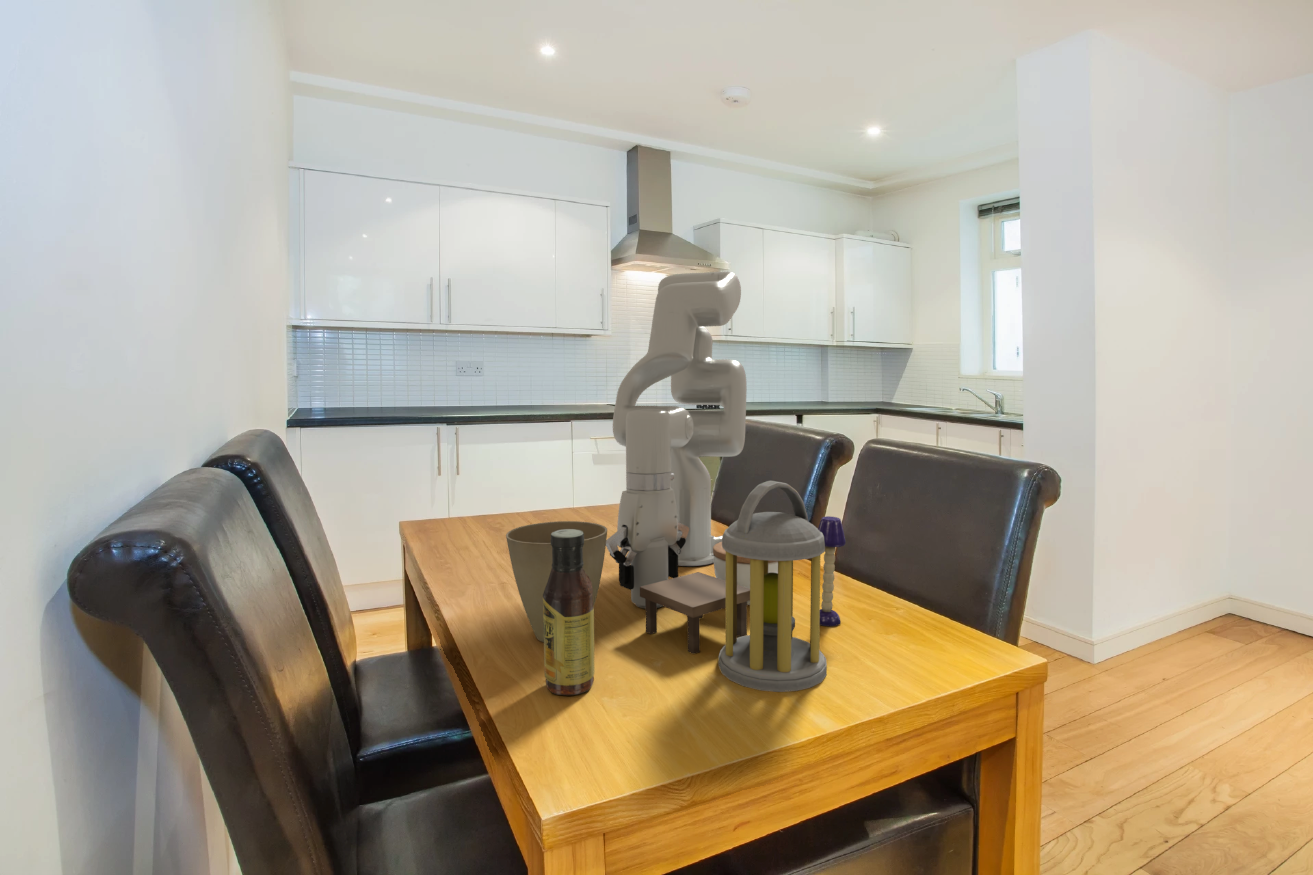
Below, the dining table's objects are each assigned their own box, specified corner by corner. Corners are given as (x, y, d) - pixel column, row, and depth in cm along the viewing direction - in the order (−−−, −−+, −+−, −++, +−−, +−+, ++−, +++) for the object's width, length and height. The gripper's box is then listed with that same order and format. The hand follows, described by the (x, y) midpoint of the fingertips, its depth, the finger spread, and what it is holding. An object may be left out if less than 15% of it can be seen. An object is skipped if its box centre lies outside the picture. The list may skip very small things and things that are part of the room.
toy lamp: (845, 618, 107) (846, 515, 105) (843, 629, 102) (844, 521, 101) (814, 615, 108) (815, 513, 107) (811, 625, 104) (812, 519, 103)
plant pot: (604, 614, 110) (602, 518, 109) (614, 650, 95) (612, 540, 94) (511, 620, 107) (508, 522, 106) (506, 658, 93) (503, 545, 91)
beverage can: (664, 611, 111) (664, 540, 110) (627, 609, 112) (626, 538, 111) (671, 598, 117) (671, 531, 116) (635, 596, 119) (635, 530, 118)
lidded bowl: (793, 592, 120) (794, 531, 119) (775, 615, 109) (775, 548, 108) (726, 583, 126) (726, 525, 125) (702, 604, 114) (702, 541, 113)
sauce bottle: (546, 676, 87) (543, 526, 85) (595, 674, 88) (592, 524, 86) (542, 701, 80) (538, 538, 79) (594, 698, 81) (592, 536, 79)
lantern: (775, 638, 99) (776, 470, 97) (850, 673, 87) (853, 483, 85) (697, 660, 92) (696, 479, 89) (768, 702, 80) (769, 494, 77)
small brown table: (698, 613, 110) (698, 571, 109) (752, 635, 100) (752, 589, 100) (640, 631, 102) (639, 586, 102) (693, 656, 93) (692, 607, 92)
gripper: (673, 475, 121) (673, 568, 123) (593, 484, 110) (594, 586, 112) (701, 479, 115) (701, 577, 117) (619, 490, 105) (621, 597, 106)
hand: (649, 581), depth 114 cm, fingers open, 9 cm apart
